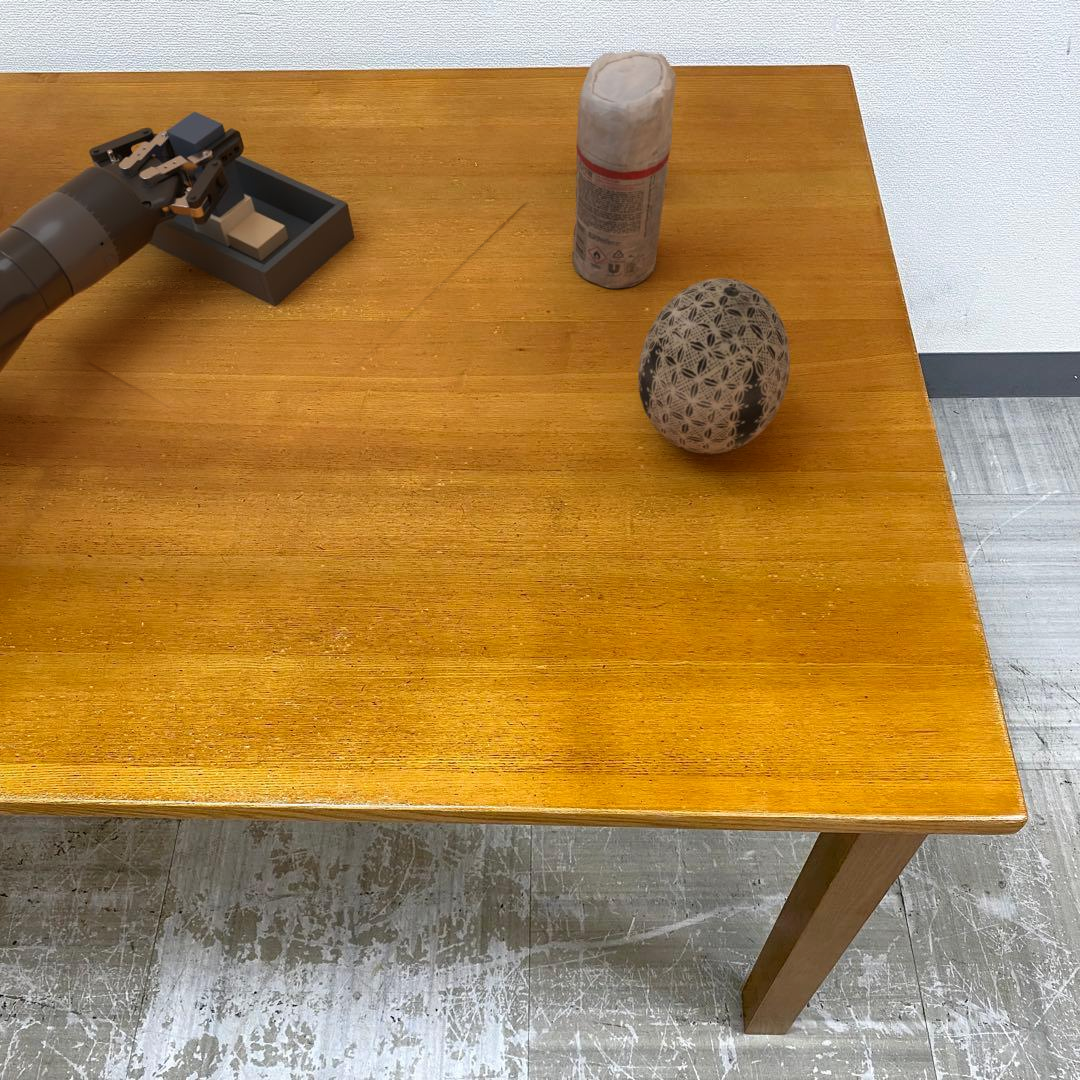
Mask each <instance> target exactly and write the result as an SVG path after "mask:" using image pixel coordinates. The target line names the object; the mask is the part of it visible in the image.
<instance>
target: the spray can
mask: <svg viewBox="0 0 1080 1080" xmlns="http://www.w3.org/2000/svg"><path fill="white" fill-rule="evenodd" d="M676 87H677V74H676V72H675V70H674V69H673V67H672V66H671V64H670V62H669V61H668V59H667V58H666V56H664V55H663V54H661V53H658V52H645V51H640V50H635V49H632V50H630V51H627V52H625V51H624V52H617V53H615V52H613V51H611V52H605V53H604V52H603V54H602V55H601V56H599V57H598V58H596V59H595V60H594V61H592V62H591V64H590V65H589V69H588V72H587V74H586V76H585V79H584V82H583V84H582V87H581V90H580V93H579V99H578V105H579V106H578V108H577V129H576V175H575V180H576V185H575V224H574V229H573V251H572V252H571V259H572V264H573V268H574V270H575V271H576V273H577V274H578V275H580V277H582V279H585V280H587V281H589V282H591V283H593V284H595V285H598V286H601V287H604V288H607V289H621V288H622V289H624V288H631V287H633V286H637V285H639V284H640V283H642V282H643V281H645V280H646V279H647V278H649V277H650V275H652V273H653V272H654V271H655V269H656V265H657V264H656V263H657V257H658V252H657V250H658V245H659V237H660V231H661V224H662V214H663V205H664V200H665V192H666V183H667V176H668V169H669V168H668V167H669V158H670V152H671V148H672V141H673V123H674V106H675V94H676Z"/></svg>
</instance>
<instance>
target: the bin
mask: <svg viewBox="0 0 1080 1080" xmlns="http://www.w3.org/2000/svg"><path fill="white" fill-rule="evenodd" d="M234 163H235V166H236V170H237V173H238V176H239V180H240V183H241V186H242V190H243V193H244V194H245V195H247V196H249V197H251V199H252V203H253V206H254V209H255V212H257V213H259V214H261V215H263V216H266V217H268V218H270V219H272V220H274V221H276V222H278V223H280V224H283V225H285V227H286V231H287V235H288V239H287V240H286V241H285V242H284V243H283V244H281V245H280V246H279V247H278V248H277V249H275V250H274V251H273V252H272V253H271V254H269V255H268V256H267V257H266V258H265V259H263V260H262V261H260V260H258V259H255V258H253V257H251V256H249V255H247V254H245V253H243V252H241V251H239V250H237V249H235V248H233V247H231V245H230V246H228V247H227V246H225V245H223V244H221V243H219V242H217V241H215V240H213V239H211V238H209V237H207V236H205V235H203V234H201V233H199V232H197V231H196V230H195V228H194V225H193V222H192V219H191V217H190V215H183V214H177V215H176V216H175V217H174V218H172V219H169V220H166V221H163V222H161V223H159V224H158V225H157V226H156V228H155V231H154V233H153V237H152V239H151V241H150V242H149V243H148V244H150V245H152V246H154V247H156V248H158V249H159V250H161V251H163V252H166V253H168V254H169V255H171V256H173V257H176V258H177V259H179V260H181V261H183V262H185V263H187V264H189V265H191V266H193V267H195V268H197V269H199V270H201V271H203V272H205V273H207V274H209V275H211V276H213V277H215V278H216V279H219V280H221V281H223V282H225V283H227V284H229V285H231V286H233V287H235V288H237V289H239V290H241V291H243V292H244V293H247V294H248V295H251V296H252V297H255V298H257V299H259V300H260V301H263V302H265V303H266V304H269V305H271V306H273V307H277V306H278V305H279V304H281V302H283V301H284V300H285V299H286V298H287V297H288V296H290V295H291V294H292V293H293V292H294V291H295V290H297V289H298V288H299V287H301V285H302V284H303V283H305V282H306V281H307V280H308V279H309V278H310V277H311V276H313V275H314V273H316V272H317V271H318V270H320V268H322V267H323V266H324V265H325V264H327V262H328V261H330V260H331V259H332V258H333V257H334V256H335V255H337V253H339V252H340V251H341V250H342V249H344V248H345V247H346V246H347V245H348V244H350V243H351V241H353V240H354V239H355V232H354V227H353V223H352V217H351V214H350V209H349V204H348V202H346V201H344V200H342V199H339V198H337V197H334V196H332V195H330V194H328V193H325V192H323V191H321V190H319V189H317V188H314V187H312V186H310V185H308V184H306V183H303V182H301V181H299V180H296V179H294V178H292V177H290V176H287V175H285V174H283V173H280V172H278V171H276V170H274V169H272V168H269V167H268V166H265V165H263V164H260V163H258V162H256V161H254V160H252V159H250V158H247V157H245V156H242V155H240V156H239V157H238V158H236V159H235V160H234ZM178 173H179V175H180V177H181V180H182V183H183V185H184V180H183V177H182V174H181V171H179V172H178Z"/></svg>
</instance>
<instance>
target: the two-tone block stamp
mask: <svg viewBox="0 0 1080 1080" xmlns="http://www.w3.org/2000/svg"><path fill="white" fill-rule="evenodd" d="M165 131H166V132H167V135H168V138H169V140H170V143H171V146H172V149H173V152H174V154H175V157H178V156H183V157H185V158H187V157H189V156H191V155H193V154H195V153H197V152H199V151H201V150H203V149H206V148H205V147H206V146H208V145H209V144H211V143H212V142H213V141H215V140H216V139H217V138H219V137H220V136H222V135H223V134H224V133H225V132H226V130H225V127H224V124H223V123H221V122H220V121H217V120H216V119H215V120H214V119H213V118H210V117H208V116H206V115H204V114H201V113H199V112H196V111H193V112H191V113H190V114H188V115H186V116H185V117H184V118H182V119H181V120H179V122H177V123H175V124H174V125H173V126H172V127H170V128H168V129H167V130H165ZM203 170H204V169H203V166H202V165H201V166H199V167H197V168H195V170H194V173H195V175H197V174H199V173H201V172H203ZM224 171H225V175H226V178H227V181H228V184H229V187H228V189H227V191H226V192H225V194H224V195H223V197H222V199H221V200H220V202H219V203H218V205H217V207H216V208H215V210H214V211H213V213H212V215H211V216H210V218H209V219H208V221H207V222H206V223H205V224H202V225H198V224H195V223H194V220H193V217H192V216H190V217H191V219H192V222H193V225H194V228H195V230H196V231H197V232H199V233H201V234H203V235H205V236H207V237H209V238H211V239H213V240H215V241H217V242H219V243H221V244H223V245H225V246H227V247H228V246H230V242H229V239H228V236H227V233H228V232H230V231H231V230H232V229H233V228H235V227H236V226H237V225H238V224H240V223H241V222H242V221H244V220H245V219H246V218H247V217H249V216H250V215H251V214H252V213H254V212H255V209H254V206H253V203H252V199H251V197H249V196H247V195H245V194H244V193H243V190H242V186H241V183H240V180H239V176H238V173H237V170H236V166H235V163H234V160H233V161H232V162H231V163H230V164H228V165H227V166H226V167H224ZM183 180H184V179H183Z"/></svg>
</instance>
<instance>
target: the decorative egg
mask: <svg viewBox="0 0 1080 1080" xmlns="http://www.w3.org/2000/svg"><path fill="white" fill-rule="evenodd" d="M640 352H641V353H640V357H639V363H638V371H637V377H638V378H637V383H638V393H639V398H640V401H641V405H642V407H643V410H644V413H645V415H646V416H647V418H648V420H649V421H650V423H651V424H652V426H653V427H654V429H655V430H656V431H657V433H659V434H660V435H661V437H663V438H664V439H665V440H666V441H668V442H669V443H671V444H672V445H674V446H676V447H678V448H680V449H683V450H685V451H687V452H691V453H696V454H705V455H715V454H716V455H717V454H722V453H728V452H730V451H731V452H732V451H733V450H736V449H739V448H741V447H743V446H745V445H747V444H748V443H750V442H751V441H752V440H754V439H755V438H756V437H758V436H759V435H760V434H761V433H762V432H763V431H764V430H765V429H766V428H767V427H768V426H769V424H770V423H771V422H772V420H773V419H774V417H775V416H776V414H777V412H778V411H779V409H780V407H781V405H782V402H783V400H784V398H785V394H786V392H787V387H788V384H789V378H790V372H791V371H790V370H791V369H790V368H791V354H790V353H791V352H790V342H789V337H788V334H787V330H786V327H785V324H784V322H783V320H782V318H781V315H780V314H779V313H778V311H777V309H776V308H775V306H774V304H773V303H772V302H771V301H770V300H769V299H768V297H767V296H765V295H764V293H762V292H761V291H760V290H758V289H757V288H755V287H754V286H752V285H751V284H749V283H746V282H745V281H742V280H739V279H733V278H729V277H727V278H725V277H724V278H723V277H722V278H718V277H717V278H710V279H705V280H702V281H699V282H696V283H694V284H692V285H690V286H688V287H686V288H685V289H683V290H682V291H680V292H678V293H677V294H676V295H675V296H674V297H672V298H671V299H670V300H669V301H668V302H667V303H666V304H665V306H664V307H662V309H661V310H660V311H659V312H658V313H657V316H656V317H655V319H654V321H653V323H652V324H651V326H650V329H649V331H648V332H647V334H646V337H645V340H644V342H643V346H642V349H641V351H640Z"/></svg>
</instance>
